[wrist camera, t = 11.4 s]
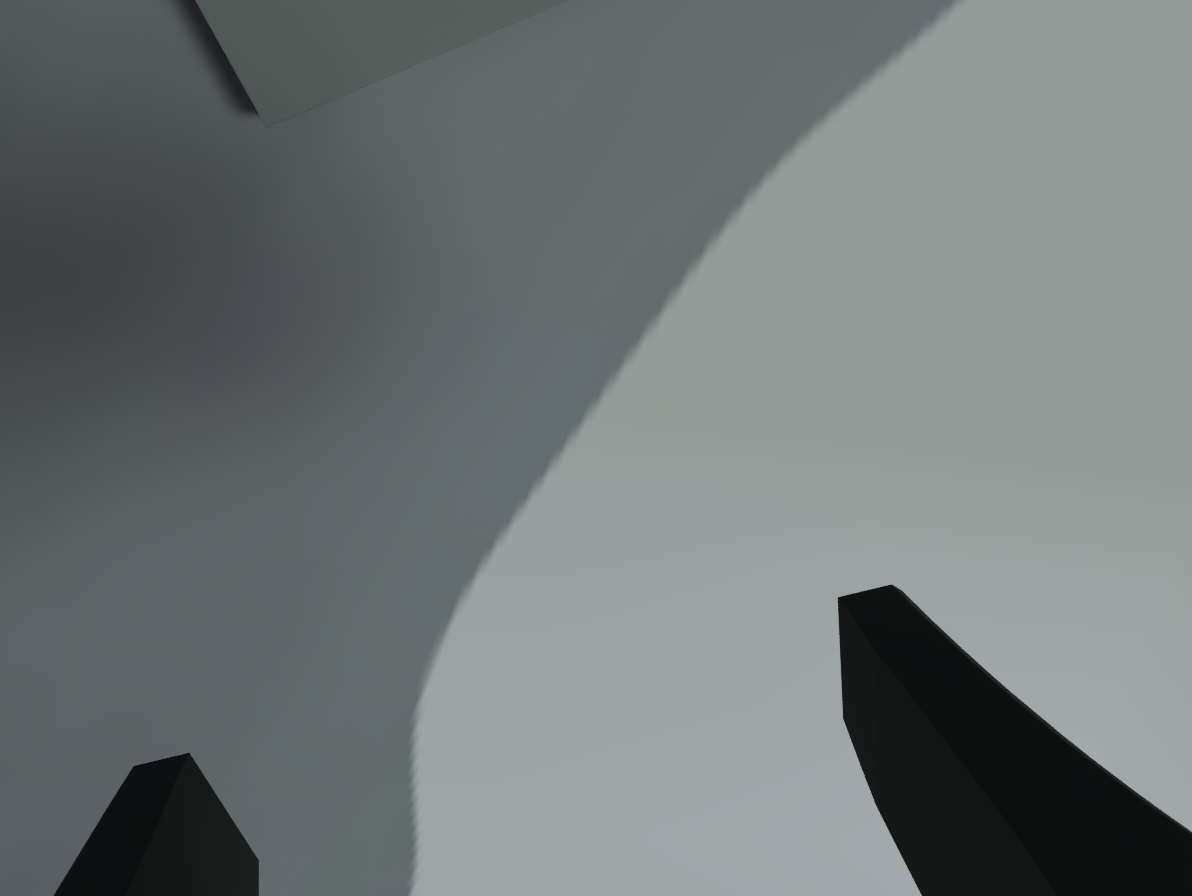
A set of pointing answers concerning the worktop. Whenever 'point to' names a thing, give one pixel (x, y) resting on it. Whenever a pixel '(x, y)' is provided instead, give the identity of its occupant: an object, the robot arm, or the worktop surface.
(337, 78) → the mat
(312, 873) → the worktop surface
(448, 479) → the worktop surface
